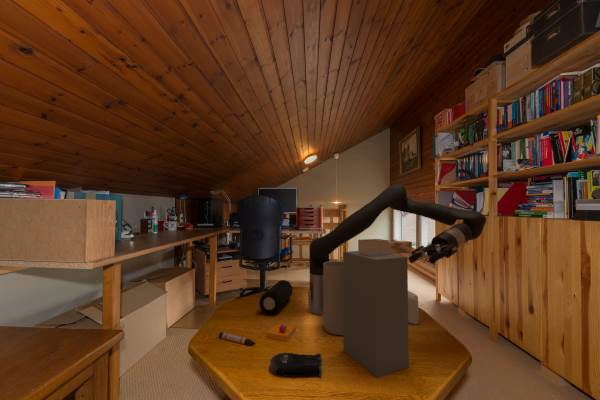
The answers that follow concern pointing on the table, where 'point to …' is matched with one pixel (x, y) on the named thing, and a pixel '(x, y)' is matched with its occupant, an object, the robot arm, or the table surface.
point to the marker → (236, 339)
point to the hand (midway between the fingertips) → (420, 260)
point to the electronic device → (296, 364)
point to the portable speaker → (275, 297)
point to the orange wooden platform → (281, 332)
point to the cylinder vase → (333, 297)
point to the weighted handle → (383, 247)
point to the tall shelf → (376, 311)
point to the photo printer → (413, 308)
